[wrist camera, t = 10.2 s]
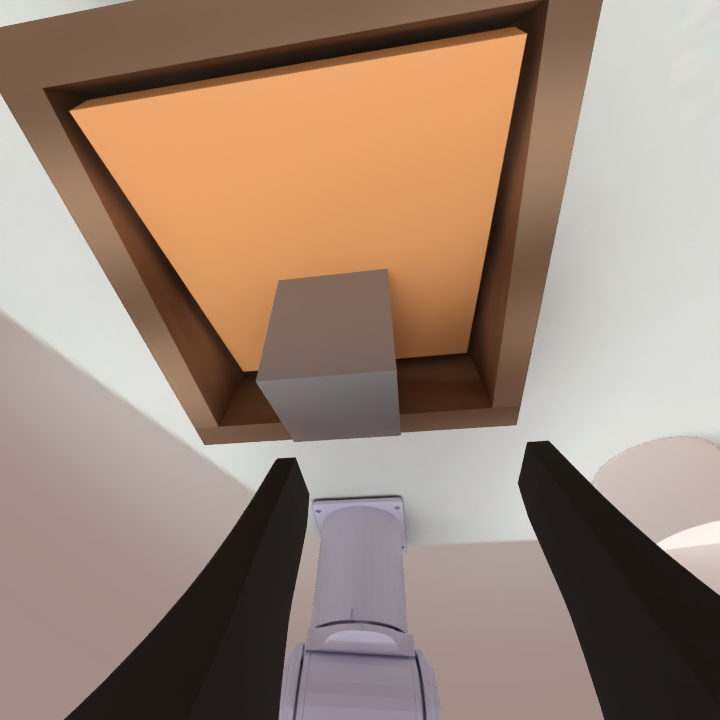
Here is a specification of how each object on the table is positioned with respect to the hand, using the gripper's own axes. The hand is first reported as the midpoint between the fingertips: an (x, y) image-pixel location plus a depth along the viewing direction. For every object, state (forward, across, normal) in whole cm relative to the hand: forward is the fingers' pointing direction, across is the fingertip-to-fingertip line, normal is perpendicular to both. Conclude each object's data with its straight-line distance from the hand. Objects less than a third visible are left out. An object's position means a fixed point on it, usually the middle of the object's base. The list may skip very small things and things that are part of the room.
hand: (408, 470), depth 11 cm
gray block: (+7, +2, -2) cm, 7 cm away
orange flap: (+7, +2, -5) cm, 9 cm away
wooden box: (+10, +2, -5) cm, 12 cm away
